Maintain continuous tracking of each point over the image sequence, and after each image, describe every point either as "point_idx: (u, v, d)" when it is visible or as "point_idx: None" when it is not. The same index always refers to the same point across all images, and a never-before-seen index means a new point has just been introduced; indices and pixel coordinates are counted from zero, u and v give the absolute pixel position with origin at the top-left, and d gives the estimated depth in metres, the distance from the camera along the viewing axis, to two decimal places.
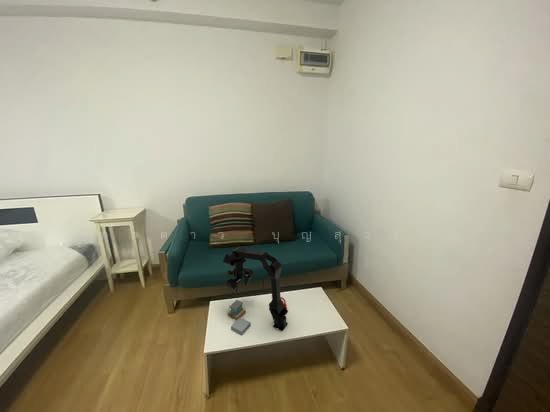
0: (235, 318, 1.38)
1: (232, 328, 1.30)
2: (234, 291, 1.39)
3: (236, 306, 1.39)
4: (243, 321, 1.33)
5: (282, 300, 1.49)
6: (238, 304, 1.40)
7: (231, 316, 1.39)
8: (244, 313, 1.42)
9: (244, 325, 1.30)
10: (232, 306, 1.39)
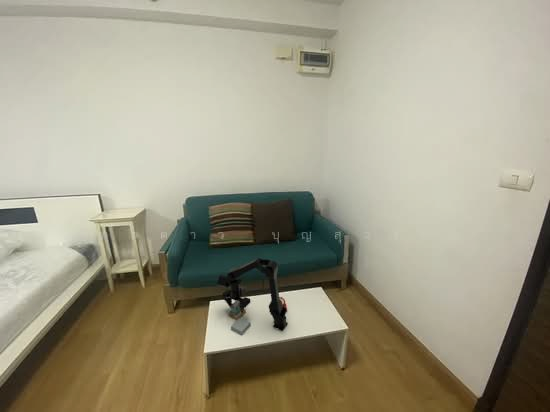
0: (235, 318, 1.38)
1: (232, 328, 1.30)
2: (230, 304, 1.44)
3: (236, 306, 1.39)
4: (243, 321, 1.33)
5: (282, 300, 1.49)
6: (238, 304, 1.40)
7: (231, 316, 1.39)
8: (244, 313, 1.42)
9: (244, 325, 1.30)
10: (232, 306, 1.39)
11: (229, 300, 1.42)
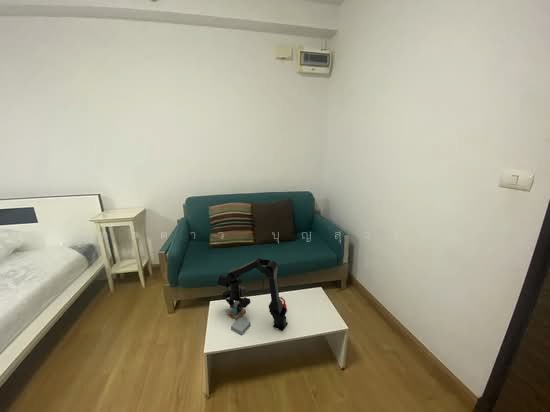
0: (235, 318, 1.38)
1: (232, 328, 1.30)
2: None
3: (236, 306, 1.39)
4: (243, 321, 1.33)
5: (282, 300, 1.49)
6: None
7: (231, 316, 1.39)
8: (244, 313, 1.42)
9: (244, 325, 1.30)
10: (232, 306, 1.39)
11: (231, 301, 1.41)
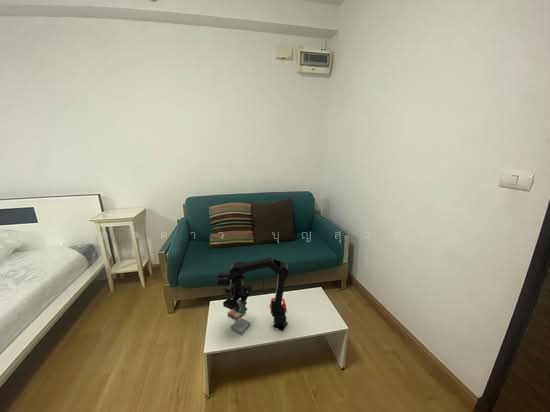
0: (235, 318, 1.38)
1: (232, 328, 1.30)
2: (235, 309, 1.26)
3: (242, 301, 1.28)
4: (243, 321, 1.33)
5: None
6: (239, 300, 1.29)
7: (231, 316, 1.39)
8: (244, 313, 1.42)
9: (244, 325, 1.30)
10: (241, 304, 1.26)
11: None
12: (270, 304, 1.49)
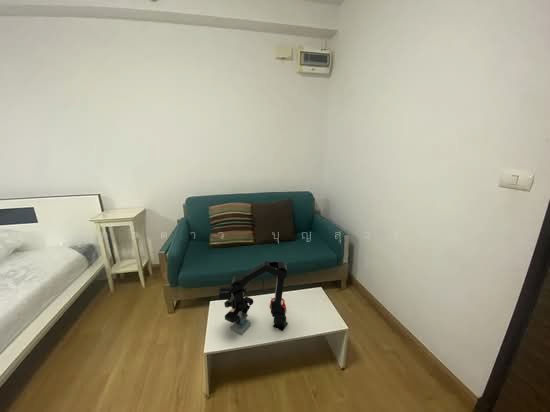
0: None
1: (232, 328, 1.30)
2: (236, 322, 1.28)
3: (243, 314, 1.30)
4: None
5: None
6: (240, 313, 1.31)
7: None
8: None
9: None
10: (242, 317, 1.28)
11: None
12: (270, 304, 1.49)
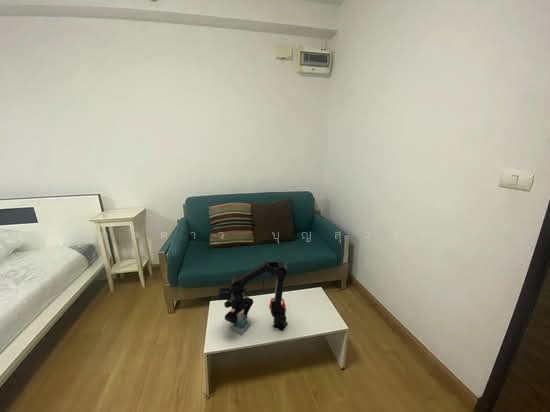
0: None
1: (232, 328, 1.30)
2: (233, 324, 1.26)
3: (243, 316, 1.31)
4: None
5: (281, 300, 1.49)
6: (240, 315, 1.32)
7: None
8: None
9: None
10: (243, 319, 1.28)
11: None
12: (270, 304, 1.49)
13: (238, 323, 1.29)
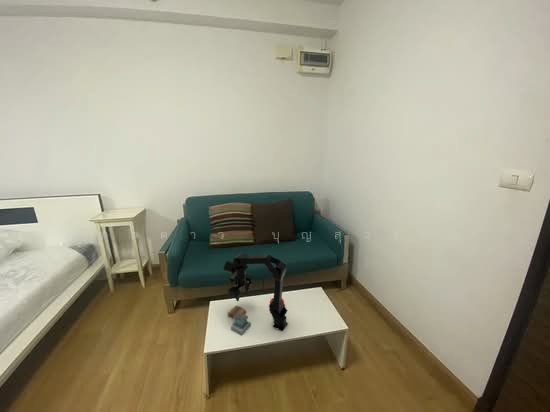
0: None
1: (232, 328, 1.30)
2: (236, 299, 1.35)
3: (243, 316, 1.31)
4: None
5: None
6: (240, 315, 1.32)
7: (231, 316, 1.39)
8: (244, 313, 1.42)
9: None
10: (243, 319, 1.28)
11: None
12: (269, 304, 1.48)
13: (238, 323, 1.29)
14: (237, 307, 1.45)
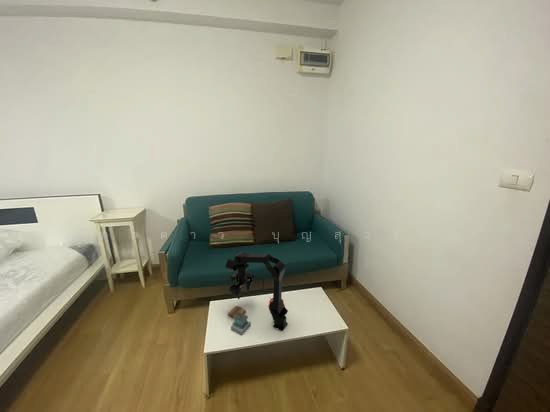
0: None
1: (232, 328, 1.30)
2: (237, 297, 1.38)
3: (243, 316, 1.31)
4: None
5: None
6: (240, 315, 1.32)
7: (231, 316, 1.39)
8: (244, 313, 1.42)
9: None
10: (243, 319, 1.28)
11: None
12: None
13: (238, 323, 1.29)
14: (237, 307, 1.45)
